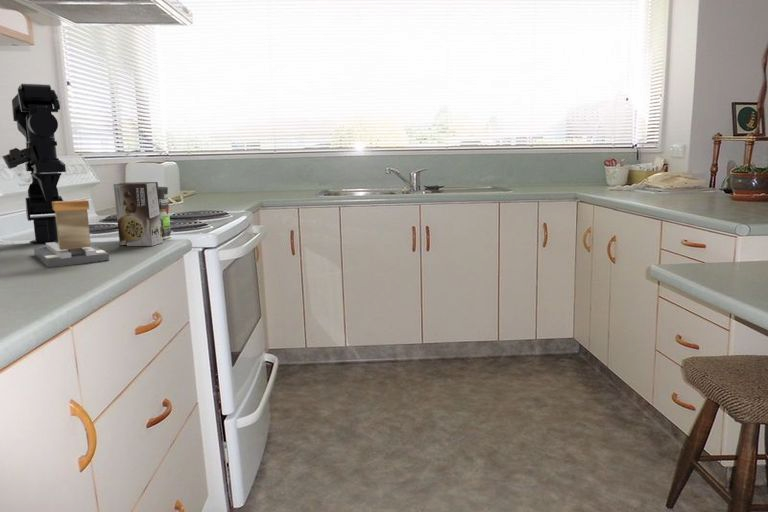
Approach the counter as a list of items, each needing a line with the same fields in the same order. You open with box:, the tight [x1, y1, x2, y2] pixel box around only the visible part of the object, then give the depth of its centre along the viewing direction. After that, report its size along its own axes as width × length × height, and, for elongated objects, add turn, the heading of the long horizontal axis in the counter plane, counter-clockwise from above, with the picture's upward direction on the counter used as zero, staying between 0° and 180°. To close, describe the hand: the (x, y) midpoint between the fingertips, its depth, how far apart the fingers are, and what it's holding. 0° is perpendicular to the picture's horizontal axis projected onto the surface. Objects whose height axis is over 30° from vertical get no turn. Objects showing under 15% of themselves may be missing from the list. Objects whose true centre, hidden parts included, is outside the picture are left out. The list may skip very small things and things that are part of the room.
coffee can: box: [158, 186, 172, 240], centre depth 166 cm, size 10×10×14 cm
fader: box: [52, 199, 92, 255], centre depth 132 cm, size 4×7×12 cm, turn 127°
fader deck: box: [33, 242, 110, 268], centre depth 138 cm, size 20×12×3 cm, turn 37°
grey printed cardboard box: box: [112, 181, 164, 247], centre depth 155 cm, size 9×6×16 cm
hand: (48, 201), depth 148 cm, fingers closed
